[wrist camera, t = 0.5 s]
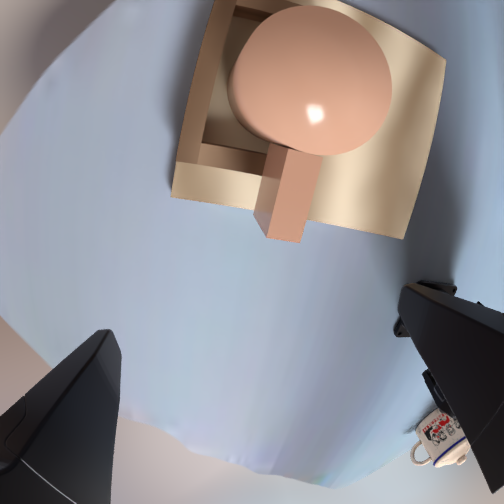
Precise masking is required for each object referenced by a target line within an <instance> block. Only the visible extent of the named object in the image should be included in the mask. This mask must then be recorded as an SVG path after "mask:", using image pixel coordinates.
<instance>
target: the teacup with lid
mask: <svg viewBox="0 0 504 504" xmlns="http://www.w3.org/2000/svg"><path fill="white" fill-rule="evenodd" d="M416 434H417V436H418V438H419V439H420V441H418V442H417V443H416V444H415V445H414V446H413V447H412V449H411V454H410V457H411V460H412V462H413V463H414V464H415V465H417V466H422V465H425V464H427V463H428V462H430V461H431V460H432V461H433V462H434V463H433V465H434V466H435V467H441V466H444V465H449V464H453V463H455V462H456V463H457V465H460V464H462V463H463V462H464V461H466V459H467V457H466V456H465V455H466V454H467V452H468V451H469V449H470V444H469V442H468V440H467V438H466V436H465V434H464V432H463V430H462V428H461V427H460V425H459V423H458V421H457V419H453V418H451V417H450V416H448V415H447V414H446V413H444V414H442V413H441V412H440V411H439V408H437V409H436V410H434V411H433V412H432V413H430V414H429V415H428V416H427V417H426V418H424V419H423V420H422V422H421V423H420V424H419V425H418V427H417V428H416ZM420 444H423V446H424V447H425V449H426V451H427V452H428V454H429V456H430V457H429V458H428V459H427V460H425V461H422V462H418V461H416V460H415V458H414V452H415V449H416V448H417V447H418V446H419V445H420Z"/></svg>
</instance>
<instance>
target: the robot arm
mask: <svg viewBox="0 0 504 504" xmlns="http://www.w3.org/2000/svg"><path fill="white" fill-rule="evenodd" d="M456 291H457V287H456V286H455V285H454V284H445V283H437V282H429V281H420V282H418V284H416V283H411V284H406V285H404V286H403V287H402V289H401V294H400V300H399V304H398V311H399V314H400V316H401V320H400V322H399V324H398V326H397V328H396V330H395V332H394V335H395V336H396V337H411V339H412V341H413V343H414V345H415V347H416V349H417V350H418V352H419V354H420V355H421V357H422V359H423V360H424V362H425V364H426V365H427V367H428V369H427V370H425V371H424V372H423V373H422V376H423V377H424V379H425V383H426V385H427V387H428V389H429V391H430V393H431V395H432V396H433V398H434V400H435V402H436V404H437V406H438V408H439V411H440V412H441V413H442V414H444V413H446V414H447V415H448V416H450V417H451V418H453V419H457V421H458V423H459V425H460V427H461V428H462V430H463V432H464V434H465V436H466V438H467V440H468V442H469V444H470V446H471V449H472V451H473V453H474V455H475V457H476V459H477V461H478V464H479V466H480V468H481V470H482V473H483V475H484V477H485V479H486V481H487V484H488V486H489V489H490V491H491V493H492V494H494V493H496V492H497V491H498V490H499V489H500V488H502V487H503V486H504V313H501V312H499V311H496V310H493V309H490V308H487V307H485V306H483V305H482V304H481V303H480V302H479V301H478V302H477V303H473V302H470V301H467V300H464V299H461V298H458V297H455V296H454V295H455V293H456ZM121 359H122V357H121V351H120V348H119V346H118V343H117V341H116V338H115V336H114V333H113V332H112V330H110V329H104V330H98V331H96V332H95V333H94V334H93V335H92V336H91V337H89V338H88V339H87V340H86V341H85V342H84V343H82V344H81V345H80V346H79V347H78V348H77V349H75V350H74V351H73V352H72V353H71V354H70V355H68V356H67V357H66V358H65V359H64V360H63V361H62V362H60V363H59V364H58V365H57V366H56V367H55V368H54V369H53V370H51V371H50V372H49V373H48V374H47V375H46V376H45V377H44V378H42V379H41V380H40V381H39V382H38V383H37V384H36V385H35V386H34V387H33V388H31V389H30V390H29V391H28V392H27V393H26V394H25V396H23V397H21V398H20V399H19V400H18V401H17V402H16V403H15V404H14V405H13V406H11V407H10V408H9V409H8V410H7V411H6V412H5V413H4V414H2V415H1V416H0V504H110V501H111V481H112V467H113V466H112V465H113V454H114V444H115V435H116V426H117V418H118V410H119V402H120V379H121Z"/></svg>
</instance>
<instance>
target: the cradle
mask: <svg viewBox="0 0 504 504" xmlns="http://www.w3.org/2000/svg"><path fill="white" fill-rule="evenodd" d="M306 5H311V6H321V7H326V8H330V9H333V10H336V11H339V12H341V13H343V14H345V15H347V16H349V17H350V18H352V19H354V20H355V21H357V22H358V23H359V24H360V25H362V26H363V27H364V28H365V29H366V30H367V31H368V32H369V33H370V34H371V35H372V36H373V38H374V39H375V40H376V41H377V43H378V44H379V46H380V48H381V49H382V51H383V53H384V55H385V57H386V60H387V63H388V65H389V69H390V73H391V79H392V98H391V104H390V108H389V111H388V114H387V116H386V118H385V121H384V122H383V124H382V126H381V127H380V129H379V130H378V131H377V132H376V134H375V135H374V136H373V137H372V138H371V139H370V140H369V141H367V142H366V143H364V144H363V145H362V146H360V147H358V148H356V149H354V150H351V151H349V152H346V153H342V154H337V155H317V156H320V157H323V160H322V164H321V168H320V172H319V175H318V179H317V183H316V187H315V190H314V194H313V198H312V202H311V205H310V209H309V213H308V216H307V220H311V221H316V222H321V223H326V224H332V225H337V226H342V227H347V228H351V229H356V230H361V231H366V232H371V233H375V234H380V235H385V236H389V237H394V238H398V239H403V238H404V235H405V232H406V229H407V226H408V223H409V220H410V217H411V214H412V211H413V208H414V205H415V202H416V198H417V195H418V192H419V188H420V185H421V182H422V178H423V174H424V171H425V167H426V163H427V159H428V155H429V151H430V147H431V143H432V139H433V134H434V130H435V125H436V120H437V115H438V110H439V105H440V99H441V94H442V87H443V81H444V74H445V67H446V60H445V59H444V58H442V57H441V56H440V55H438V54H437V53H435V52H434V51H432V50H431V49H429V48H428V47H426V46H424V45H423V44H421V43H420V42H418V41H416V40H415V39H413V38H411V37H410V36H408V35H406V34H405V33H403V32H401V31H399V30H398V29H396V28H394V27H392V26H390V25H389V24H387V23H385V22H383V21H381V20H379V19H377V18H375V17H373V16H371V15H369V14H367V13H365V12H363V11H360V10H358V9H356V8H354V7H352V6H349V5H347V4H345V3H342V2H340V1H337V0H215V1H214V4H213V7H212V10H211V14H210V17H209V20H208V24H207V27H206V30H205V34H204V37H203V41H202V45H201V48H200V52H199V56H198V60H197V63H196V67H195V71H194V75H193V80H192V84H191V88H190V92H189V97H188V101H187V106H186V110H185V115H184V120H183V124H182V129H181V134H180V140H179V145H178V150H177V156H176V167H175V173H174V179H173V185H172V191H171V197H173V198H180V199H186V200H193V201H200V202H206V203H213V204H219V205H225V206H232V207H238V208H244V209H250V210H254V209H255V204H256V200H257V196H258V191H259V187H260V183H261V179H262V174H263V170H264V166H265V161H266V157H267V153H268V148H269V144H270V143H271V142H267V141H264V140H262V139H260V138H257V137H256V136H254V135H252V134H251V133H250V132H248V131H247V130H246V129H245V128H244V127H243V126H242V125H241V124H240V123H239V122H238V120H237V119H236V118H235V116H234V114H233V112H232V110H231V108H230V105H229V102H228V97H227V81H228V76H229V73H230V70H231V68H232V66H233V64H234V63H235V61H236V59H237V57H238V56H239V54H240V52H241V51H242V49H243V47H244V46H245V44H246V43H247V41H248V39H249V38H250V36H251V35H252V33H253V32H254V31H255V29H256V28H257V27H258V26H259V25H260V24H261V23H262V22H263V21H264V20H266V19H267V18H268V17H270V16H271V15H273V14H275V13H277V12H279V11H281V10H284V9H287V8H290V7H296V6H306ZM272 144H274V143H272ZM276 145H278V144H276Z"/></svg>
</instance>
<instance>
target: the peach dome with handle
mask: <svg viewBox="0 0 504 504" xmlns="http://www.w3.org/2000/svg"><path fill="white" fill-rule="evenodd" d="M227 97H228V102H229V105H230V108H231V110H232V112H233V114H234V116H235V118H236V119H237V120H238V122H239V123H240V124H241V125H242V126H243V127H244V128H245V129H246V130H247V131H248V132H250V133H251V134H252V135H254V136H256V137H257V138H260V139H262V140H264V141H267V142H271V143H270V144H269V148H268V153H267V157H266V161H265V166H264V170H263V174H262V179H261V183H260V187H259V191H258V196H257V200H256V204H255V209H254V213H253V215H254V217H255V219H256V220H257V222H258V224H259V226H260V227H261V229H262V231H263V233H264V234H265V236H266V238H271V239H277V240H284V241H290V242H296V243H300V241H301V237H302V234H303V230H304V227H305V223H306V220H307V216H308V213H309V209H310V205H311V202H312V198H313V194H314V190H315V187H316V183H317V179H318V175H319V172H320V168H321V164H322V160H323V157H320V156H317V155H337V154H342V153H346V152H349V151H351V150H354V149H356V148H358V147H360V146H362V145H363V144H364V143H366V142H367V141H369V140H370V139H371V138H372V137H373V136H374V135H375V134H376V132H377V131H378V130H379V129H380V127H381V126H382V124H383V122H384V121H385V118H386V116H387V114H388V111H389V108H390V104H391V98H392V79H391V73H390V69H389V65H388V63H387V60H386V57H385V55H384V53H383V51H382V49H381V48H380V46H379V44H378V43H377V41H376V40H375V39H374V38H373V36H372V35H371V34H370V33H369V32H368V31H367V30H366V29H365V28H364V27H363V26H362V25H360V24H359V23H358V22H357V21H355V20H354V19H352V18H350V17H349V16H347V15H345V14H343V13H341V12H339V11H336V10H333V9H330V8H326V7H321V6H311V5H306V6H296V7H290V8H287V9H284V10H281V11H279V12H277V13H275V14H273V15H271V16H270V17H268V18H267V19H266V20H264V21H263V22H262V23H261V24H260V25H259V26H258V27H257V28H256V29H255V31H254V32H253V33H252V35H251V36H250V38H249V39H248V41H247V43H246V44H245V46H244V47H243V49H242V51H241V52H240V54H239V56H238V57H237V59H236V61H235V63H234V64H233V66H232V68H231V70H230V73H229V76H228V81H227ZM272 143H274V144H272ZM276 144H278V145H276Z"/></svg>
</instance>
